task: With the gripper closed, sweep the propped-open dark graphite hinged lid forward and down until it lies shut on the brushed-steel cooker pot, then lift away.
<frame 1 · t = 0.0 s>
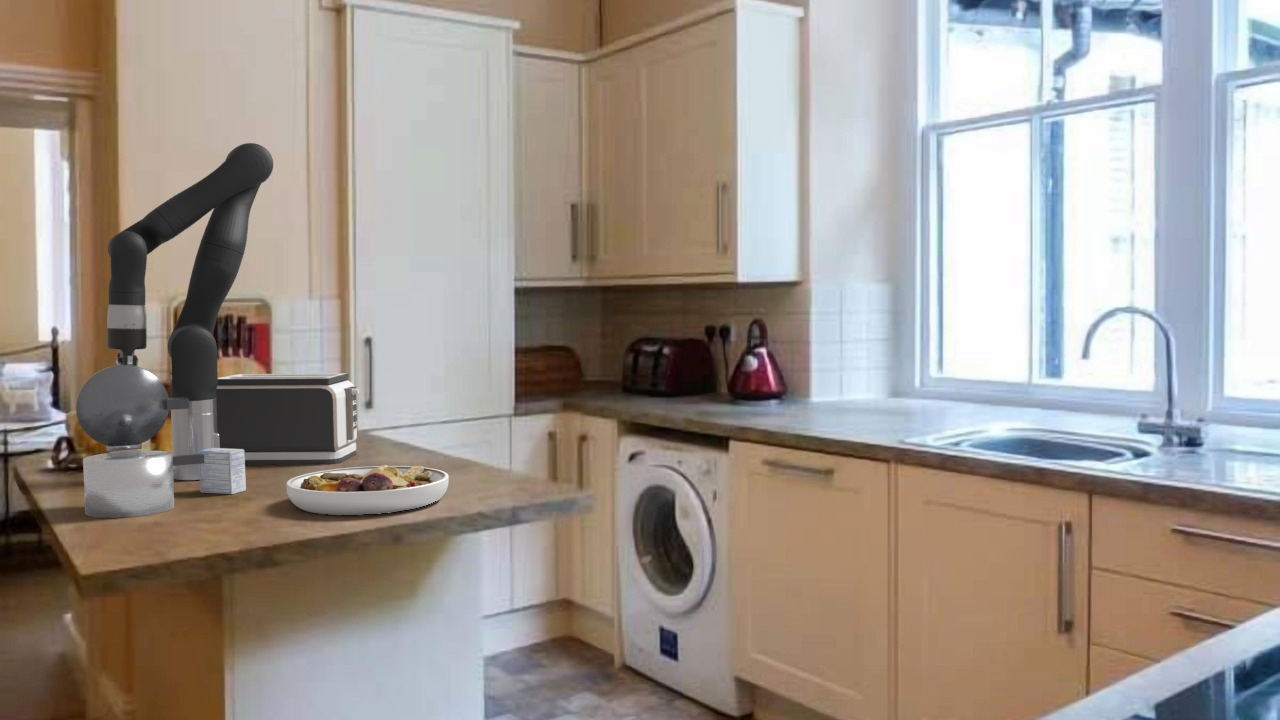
hand: (126, 403, 227), 17 cm above the worktop, tool pointing down, fingers open, 8 cm apart
medicine box: (223, 493, 217), on the worktop
toaster: (289, 460, 261), on the worktop
bowl: (369, 504, 205), on the worktop
cooker pot: (130, 509, 199), on the worktop
lid: (133, 406, 205), point 19 cm above the worktop, hinge at 80.0°
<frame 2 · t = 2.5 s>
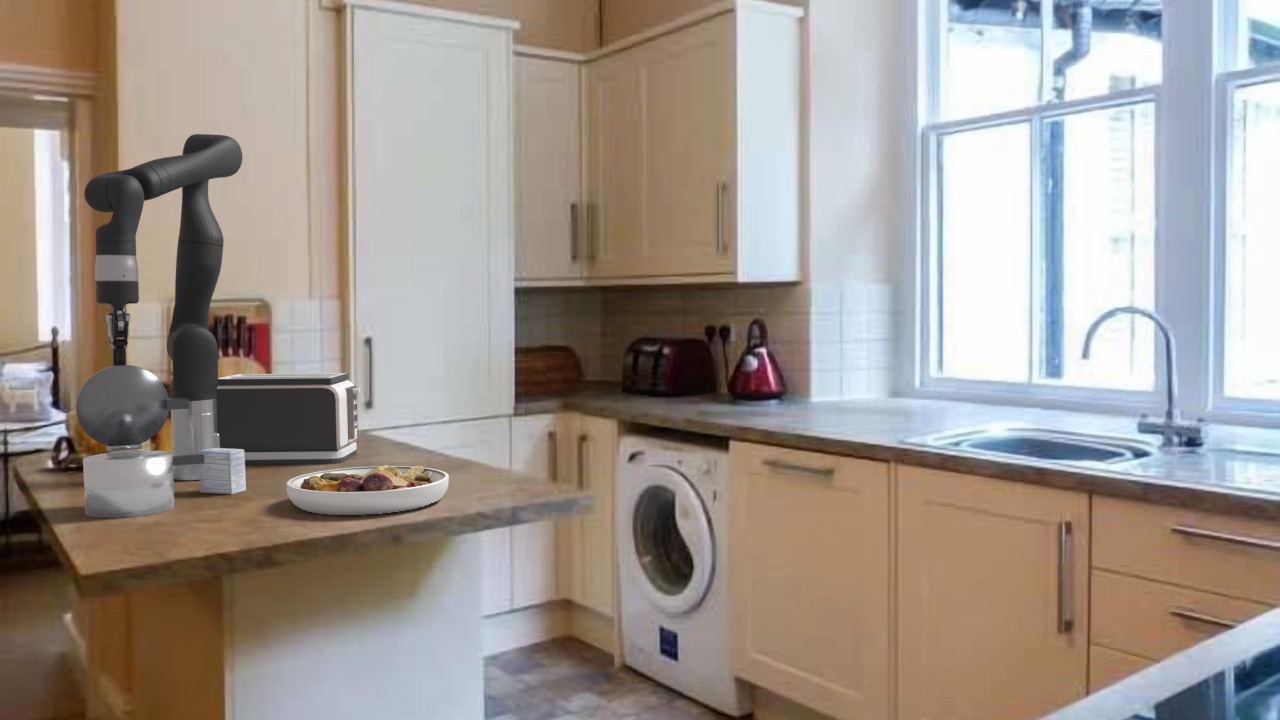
hand: (119, 368, 208), 26 cm above the worktop, tool pointing down, fingers closed
nothing on the worktop moved.
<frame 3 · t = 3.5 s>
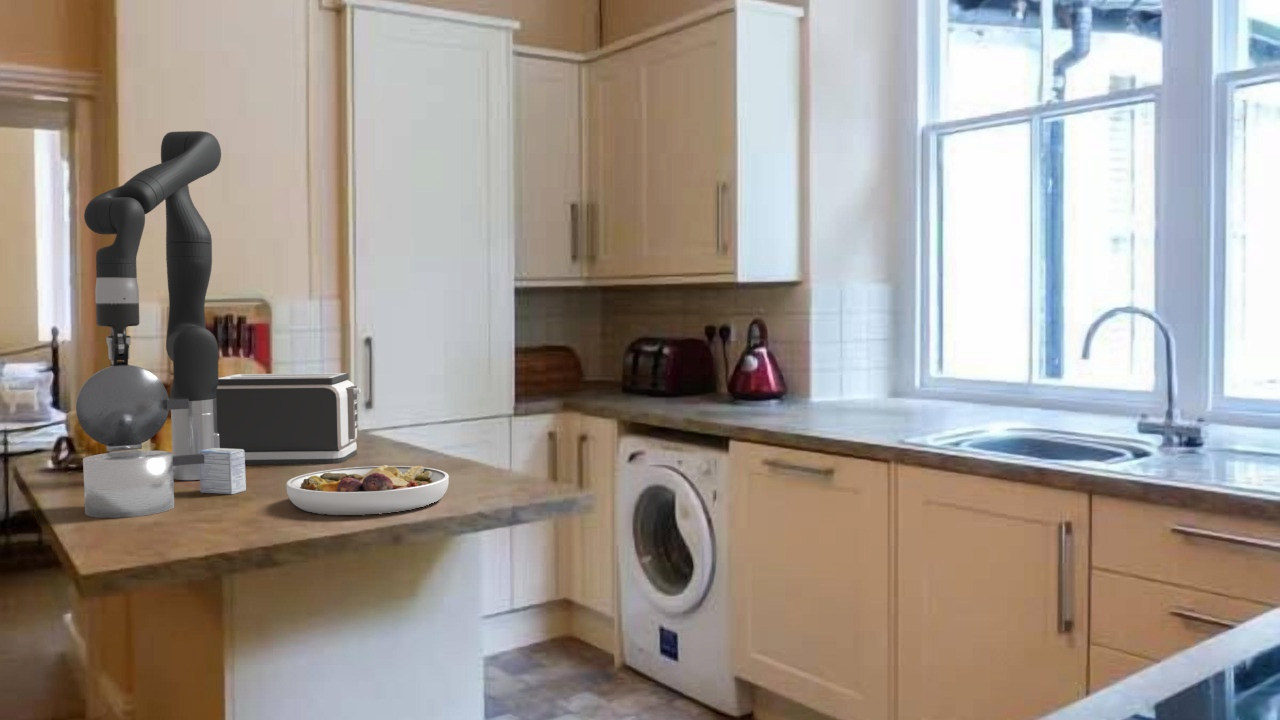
hand: (120, 390, 208), 21 cm above the worktop, tool pointing down, fingers closed
nothing on the worktop moved.
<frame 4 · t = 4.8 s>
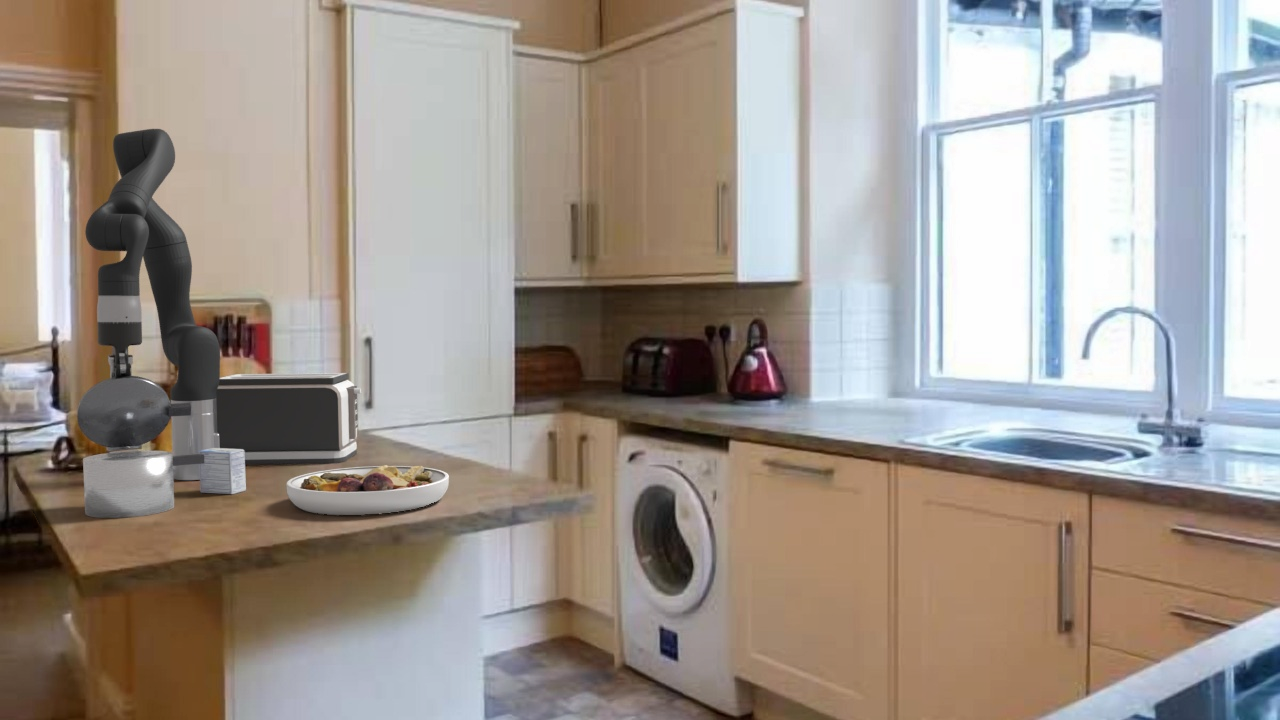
hand: (121, 411, 202), 18 cm above the worktop, tool pointing down, fingers closed
lid: (134, 410, 203), point 18 cm above the worktop, hinge at 59.5°, touching gripper
everything else where it was.
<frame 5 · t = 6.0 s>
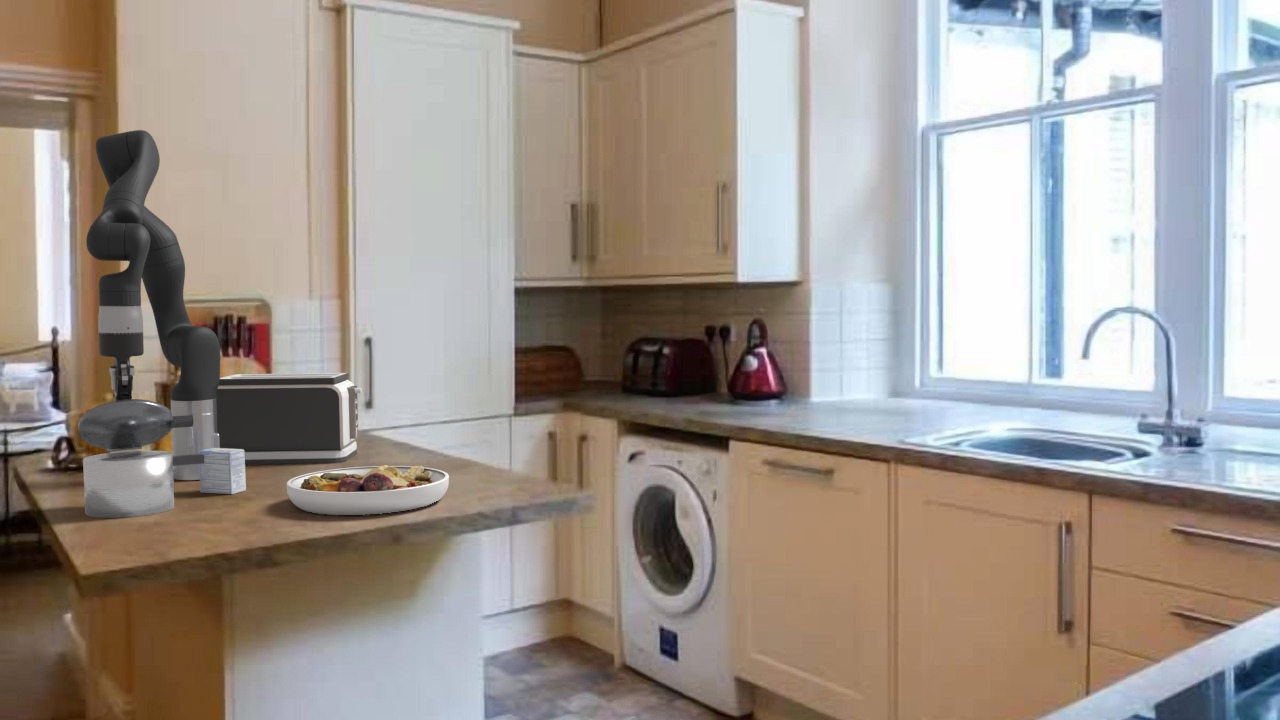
hand: (123, 422, 200), 16 cm above the worktop, tool pointing down, fingers closed
lid: (136, 420, 201), point 16 cm above the worktop, hinge at 36.9°, touching gripper
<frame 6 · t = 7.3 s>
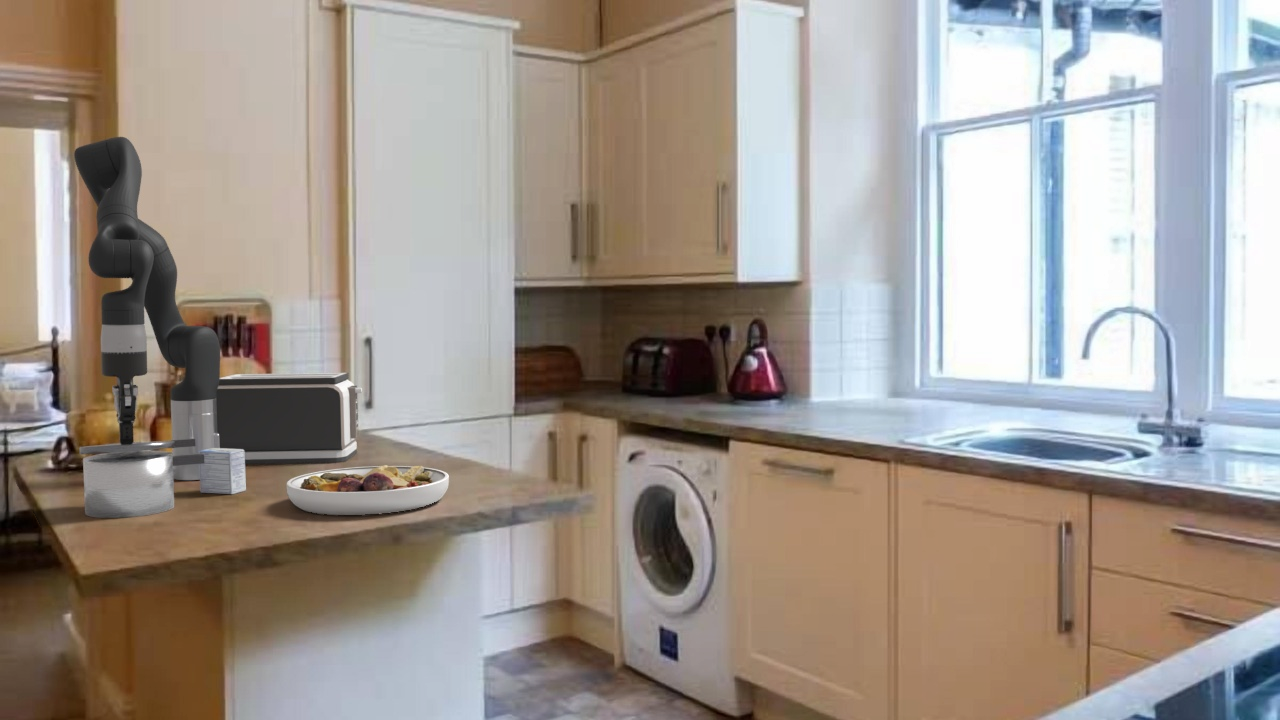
hand: (126, 443, 196), 13 cm above the worktop, tool pointing down, fingers closed
lid: (138, 441, 200), point 13 cm above the worktop, hinge at 5.8°, touching gripper
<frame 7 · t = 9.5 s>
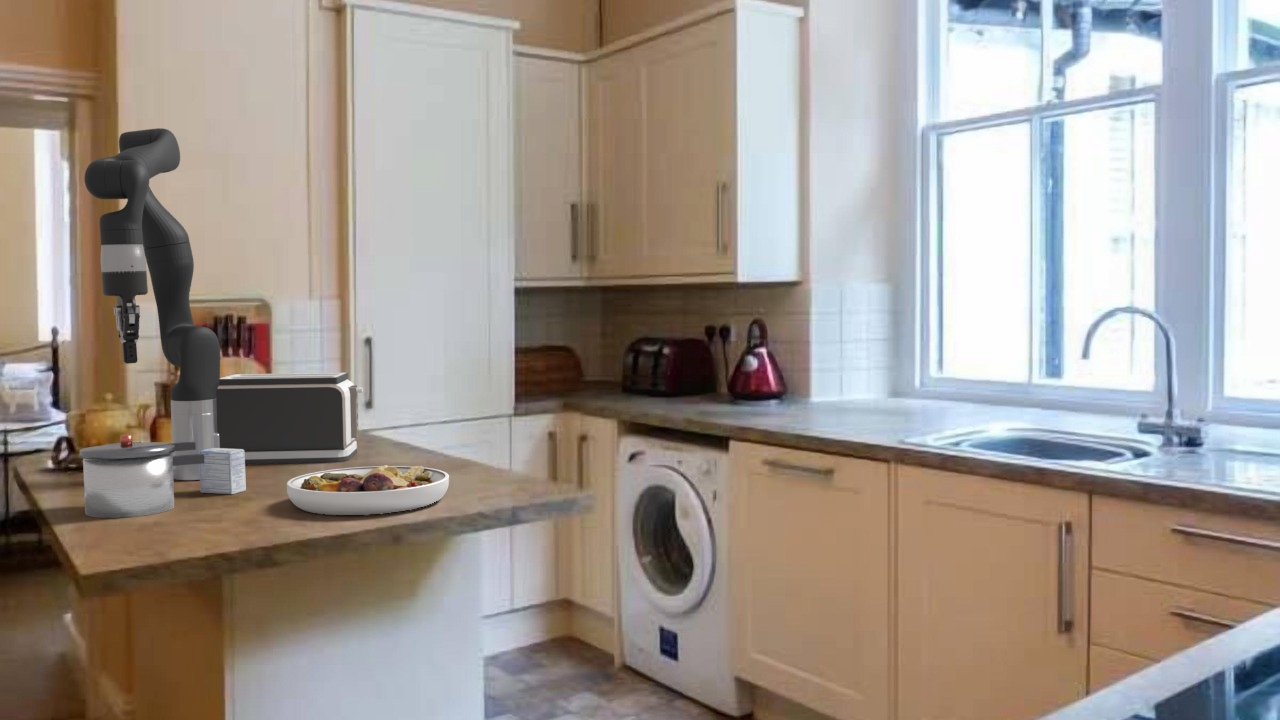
hand: (130, 362, 199), 27 cm above the worktop, tool pointing down, fingers closed
lid: (138, 444, 200), point 12 cm above the worktop, hinge at 1.4°
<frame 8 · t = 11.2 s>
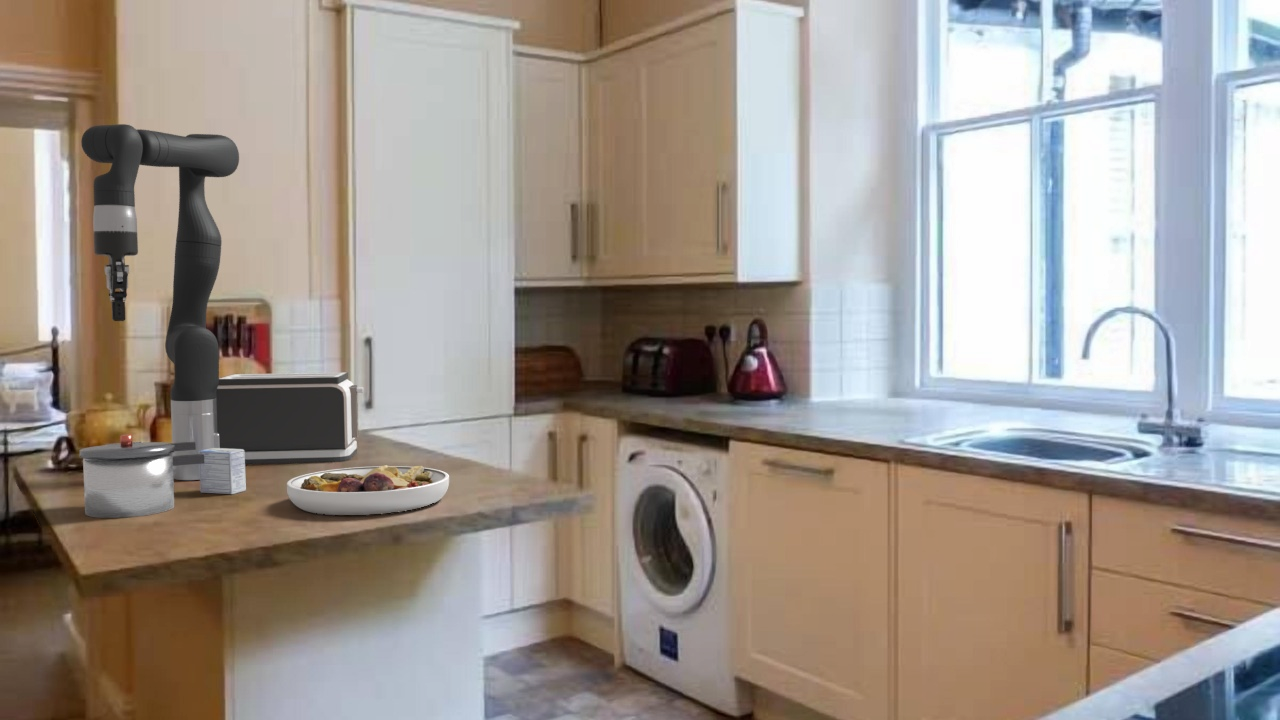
hand: (118, 320, 206), 35 cm above the worktop, tool pointing down, fingers closed
at the end: lid at +1° (first picture: +80°) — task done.
